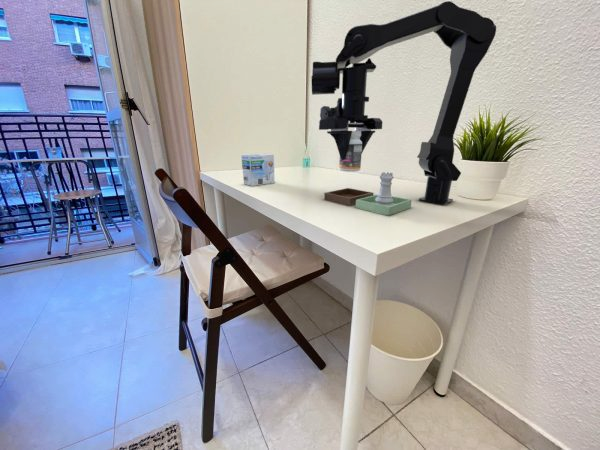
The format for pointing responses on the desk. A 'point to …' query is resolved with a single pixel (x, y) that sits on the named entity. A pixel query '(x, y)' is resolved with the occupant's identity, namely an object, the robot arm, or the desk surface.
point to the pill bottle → (352, 154)
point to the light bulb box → (258, 169)
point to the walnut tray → (346, 196)
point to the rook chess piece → (385, 190)
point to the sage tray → (370, 205)
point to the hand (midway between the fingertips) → (350, 159)
